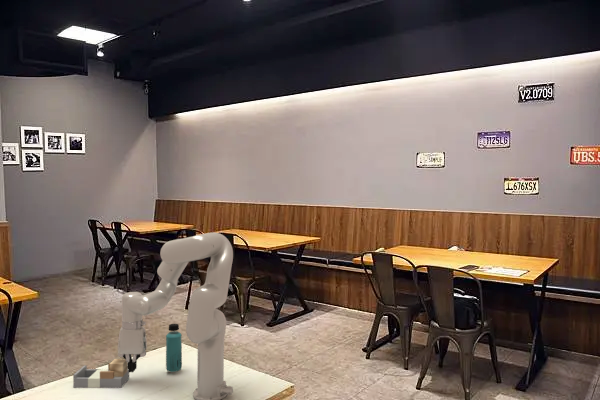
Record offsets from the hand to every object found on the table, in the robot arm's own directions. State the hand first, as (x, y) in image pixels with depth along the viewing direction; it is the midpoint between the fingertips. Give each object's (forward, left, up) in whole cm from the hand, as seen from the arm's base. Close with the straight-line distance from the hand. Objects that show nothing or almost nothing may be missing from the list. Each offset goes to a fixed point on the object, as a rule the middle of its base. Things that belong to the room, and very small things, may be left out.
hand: (132, 370), depth 181 cm
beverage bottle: (-10, -14, -5) cm, 18 cm away
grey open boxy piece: (+11, +3, -5) cm, 13 cm away
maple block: (+5, +2, -1) cm, 5 cm away
